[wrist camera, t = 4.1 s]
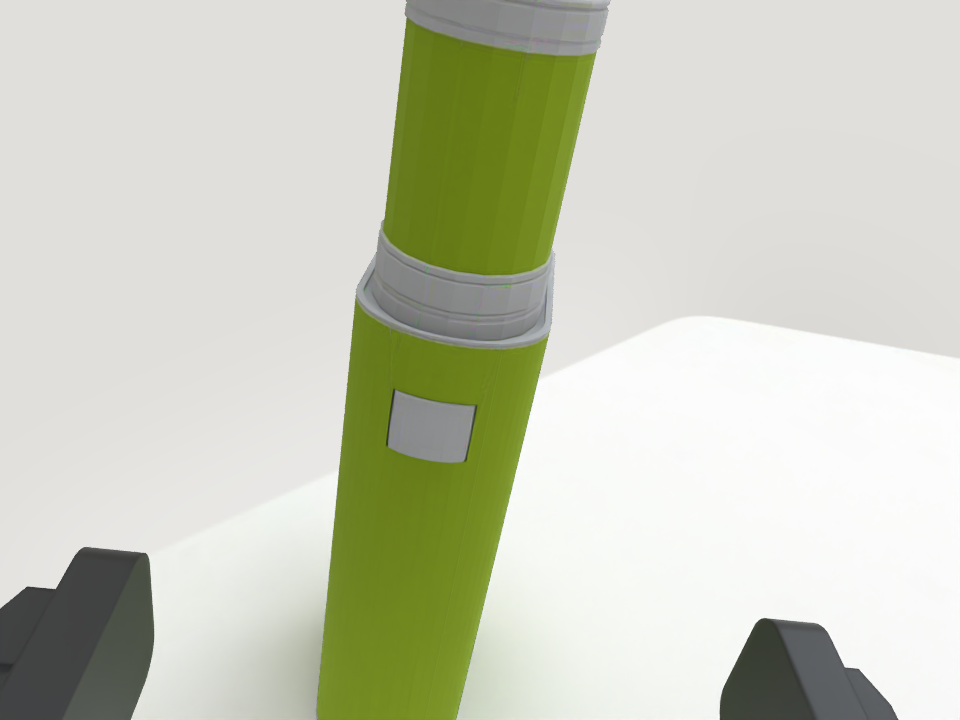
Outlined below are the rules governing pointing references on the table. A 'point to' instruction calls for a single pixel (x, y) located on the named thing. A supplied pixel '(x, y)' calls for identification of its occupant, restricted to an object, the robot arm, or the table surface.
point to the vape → (449, 344)
